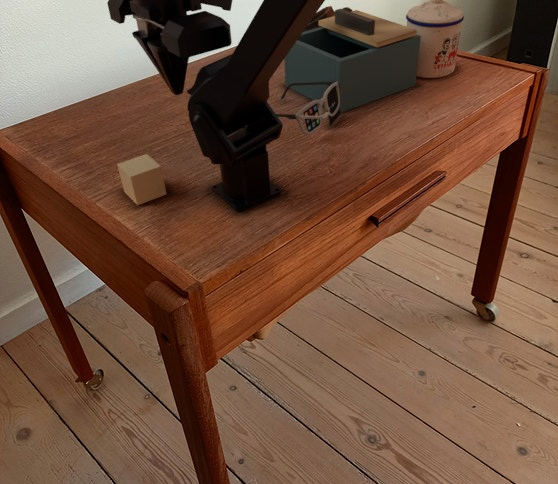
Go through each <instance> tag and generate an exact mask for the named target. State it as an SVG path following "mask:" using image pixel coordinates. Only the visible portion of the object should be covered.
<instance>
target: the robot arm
mask: <svg viewBox="0 0 558 484" xmlns="http://www.w3.org/2000/svg"><path fill="white" fill-rule="evenodd" d="M325 1H326V0H263V1H262V2H261V4H260V6H259V7H258V9H257V11H256V13H255V15H254V16H253V17H252V20H251V21H250V23H249V24H248V27H247V28H246V30H245V31H244V33H243V36H242V37H241V39H240V40H239V42H238V43H237V45H236V47H235V49H234V51H233V53H231V54H229V55H227V56H224V57H222V58H220V59H217V60H215V61H213V62H211V63H209V64H205V65H204V66H202V67H201V68H200V69H199V71H197V74H196V77H195V81H194V83H193V85H192V86H191V88H189V89H187V90H186V93H187V94H188V95H190V96H189V97H188V100H187V107H186V109H187V112H188V119H189V123H190V125H191V128H192V130H193V133H194V136H195V138H196V141H197V143H198V146H199V148H200V151H201V153H202V156H203V157H205V158H208V159H209V160H210V163H211V164H212V165H216V166H217V165H219V171H220V178H221V182H218V183H215V184H213V185H211V191H212V192H213V193H214V194H216V195H217V196H218V197H219V198H220V199H221V200H223V201H224V202H225V203H226V204H227V205H229V206H230V207H231V208H232V209H234V210H235V211H237V212H241V211H243V210H246V209H248V208H251V207H253V206H256V205H258V204H261V203H263V202H265V201H268V200H270V199H272V198H275V197H277V196H280V195H281V194H282V189H281V188H280V187H278V186H277V185H276V184H275V183H273V182H271V178H270V177H271V176H270V163H269V152H268V149H267V146H268V145H269V144H270V143H272V142H273V141H275V140H279V139H280V137H281V134H282V132H283V131H282V130H283V128H284V124H283V122H282V121H281V119H280V117H277V115H276V114H277V113H276V112H275V111H274V109H273V108H272V106H271V105H270V104H269V102H268V101H269V99H270V83H269V82H270V80H271V79H272V77H273V76H274V74H275V73H276V71H277V70H278V69H279V67H280V66H281V64H282V63H283V62H284V58H285V57H286V55H287V54H288V53H289V51H290V50H291V48H292V47H293V45H294V44H295V43H296V41H297V40H298V38H299V37H300V35H301V34H302V33H303V31H304V30H305V28H306V27H307V25H308V24H309V22H310V21H311V20H312V18H313V17H314V15H315V14H316V13H317V12H318V11H320V8H321V7H322V6H323V4H324V3H325ZM106 4H107V8H108V12H109V13H108V14H109V17H110V19H111V20H112V21H114V22H116V23H117V24H119V25H120V24H124V23H125V22H126V21H125V20H126V16H132V18H133V19H135V21H136V26H137V30H135V31H132V32H131V35H132V37H133V38H134V39H135V40H136V41H137V43H138V44H139V45H140V47H141V48H142V50H143V51H144V53H145V54H146V56H147V58H148V59H149V60H150V62H151V63H152V65H153V66H154V67H155V69H156V70H157V72H158V73H159V75H160V76H161V78H162V80H163V81H164V82H165V85H166V86H167V88H168V89H169V90H170V92H171V94H173V95H174V96H179V95H182V94H183V93H184V91H185V90H184V89H185V84H186V77H187V71H188V65H189V60H190V58H192V57H194V56H199V55H201V54H202V55H203V54H206V53H209V52H213V51H216V50H221V49H224V48H227V47H230V46H231V45H232V42H233V41H232V32H231V24H230V23H228V21H226V20H225V19H224V18H222V17H221V16H219V15H216V14H214V13H212V12H209V11H206V10H202V9H203V7H202V5H207V6H212V7H217V8H221V9H222V10H223V11H228V12H231V11H232V10H231V9H232V4H233V0H108V1H107V3H106ZM201 10H202V11H201ZM196 11H198V12H196ZM188 12H192V13H190V14H188ZM193 12H194V13H193ZM243 127H244V128H243Z"/></svg>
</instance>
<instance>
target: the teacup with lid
mask: <svg viewBox="0 0 558 484" xmlns="http://www.w3.org/2000/svg"><path fill="white" fill-rule="evenodd" d="M405 19H406V26H407V27H410V28H413V29H416V30H417V35H420V36H421V38H420V48H419V57H418V66H417V75H416V78H425V79H432V78H433V79H435V78H442V77H446V76H448V75H451V74H452V73H453V72H454V71H455V69H456V62H457V56H458V50H459V44H460V43H459V42H460V36H461V29H462V24H463V23H462V22H463V21H464V20H465V15H464V11H463V10H462V9H461V8H459V7H457V6H455V5H452V4H451V3H449V2H448V1H446V0H427V1H424V2H423V3H421V4H419V5H416V6H413V7H411V8H410V9H408V11H407V13H406V15H405Z"/></svg>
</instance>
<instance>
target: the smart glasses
mask: <svg viewBox="0 0 558 484" xmlns="http://www.w3.org/2000/svg"><path fill="white" fill-rule="evenodd" d="M322 84H325V85H329V86H330V87H329V88H328V89H327V90H326V91H325V93H324V96H323V98H322V99H321V100H312V101H310V102H308V103H307V104H306V105H305V106H303V107H302V108H301V109H300V110H299V111H298V112H297V113H296V114H295V113H291V114H290V113H275V114H276V115H277V117H278V118H280V117H281V118H286V119H289V120H296V121H297V123H298V126H299V128H300V131H301V133H302V135H307V136H309V135H312V134H314V133H315V132H317V131H318V130H319V129H320V127H321V126H322V123H323V120H325V119H326V118H327V117H328V121H329V126H330V127H331V126H333V124H334V122H336V120H337V119H338V118H339V117H340V115H341V114H342V113H341V112H340V107H339V106H340V95H339V85H338V81H337V82H336V81H331V82H305V83H291V84H289V85H288V86H286V88H285V89H284V92H283V94H282V95H281V97H280V99H281V100H283V99H284V98H285V97H286V94H287V92H288V91H289V90H290V87H291V86H294V85H322ZM323 103H324V105H325V106H324V109H325V113H323ZM302 119H304V122H305V127H306V129H305V127H304V123H303V122H302V121H303V120H302ZM243 128H244V127H243ZM243 128H242V129H243Z"/></svg>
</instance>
